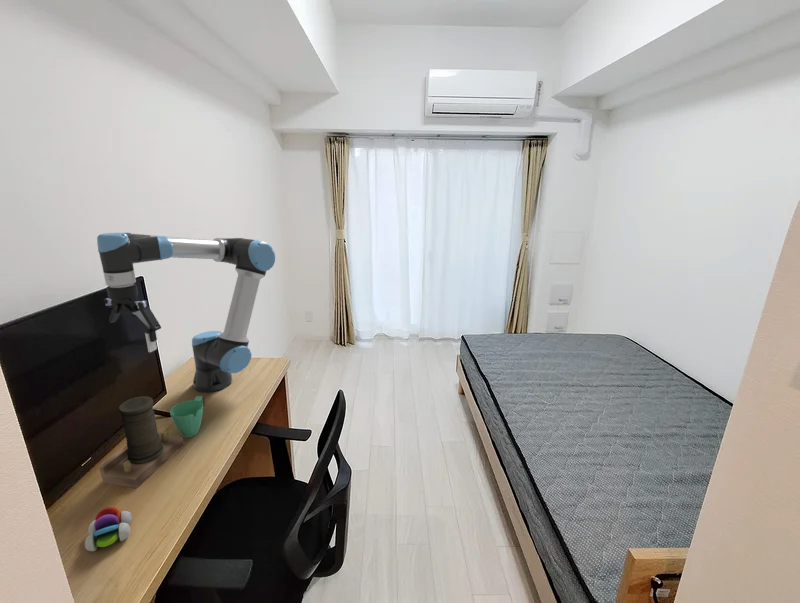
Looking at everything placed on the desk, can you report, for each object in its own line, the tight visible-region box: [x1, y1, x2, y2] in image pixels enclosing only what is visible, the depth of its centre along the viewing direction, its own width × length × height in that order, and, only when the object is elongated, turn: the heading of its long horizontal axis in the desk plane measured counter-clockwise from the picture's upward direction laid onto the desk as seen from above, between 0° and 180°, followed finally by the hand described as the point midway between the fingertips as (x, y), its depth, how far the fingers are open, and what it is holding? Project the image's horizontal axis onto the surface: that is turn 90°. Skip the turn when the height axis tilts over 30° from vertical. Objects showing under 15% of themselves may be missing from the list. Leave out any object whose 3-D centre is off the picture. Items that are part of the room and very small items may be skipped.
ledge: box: [99, 430, 184, 489], centre depth 117 cm, size 19×11×6 cm, turn 171°
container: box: [118, 395, 163, 464], centre depth 114 cm, size 9×9×18 cm
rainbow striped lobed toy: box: [84, 506, 133, 552], centre depth 92 cm, size 8×10×7 cm
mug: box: [169, 395, 205, 438], centre depth 133 cm, size 15×10×10 cm
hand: (133, 348), depth 122 cm, fingers open, 13 cm apart
